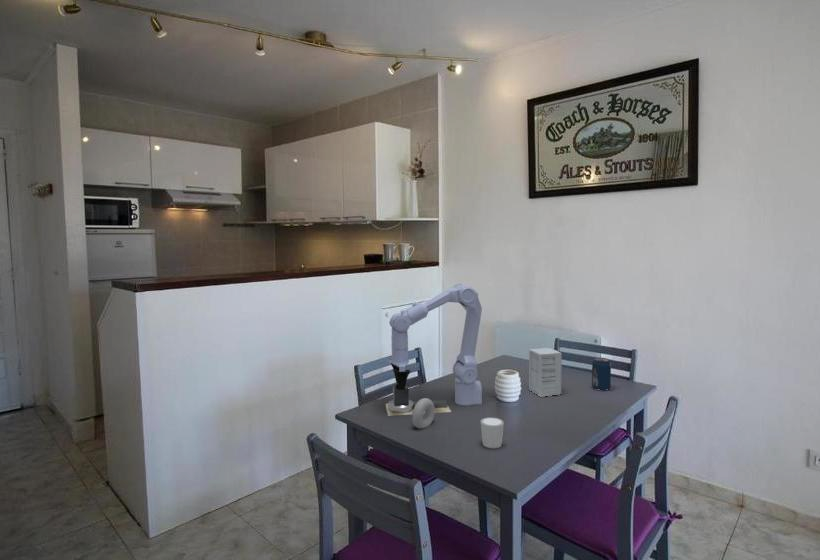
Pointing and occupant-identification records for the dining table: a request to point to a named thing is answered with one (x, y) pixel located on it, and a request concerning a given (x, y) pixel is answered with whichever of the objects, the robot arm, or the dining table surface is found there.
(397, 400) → the charcoal matte cube
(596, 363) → the soda can
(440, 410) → the board
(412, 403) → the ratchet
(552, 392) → the supplement box
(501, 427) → the shot glass
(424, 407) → the donut
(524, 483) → the dining table surface
